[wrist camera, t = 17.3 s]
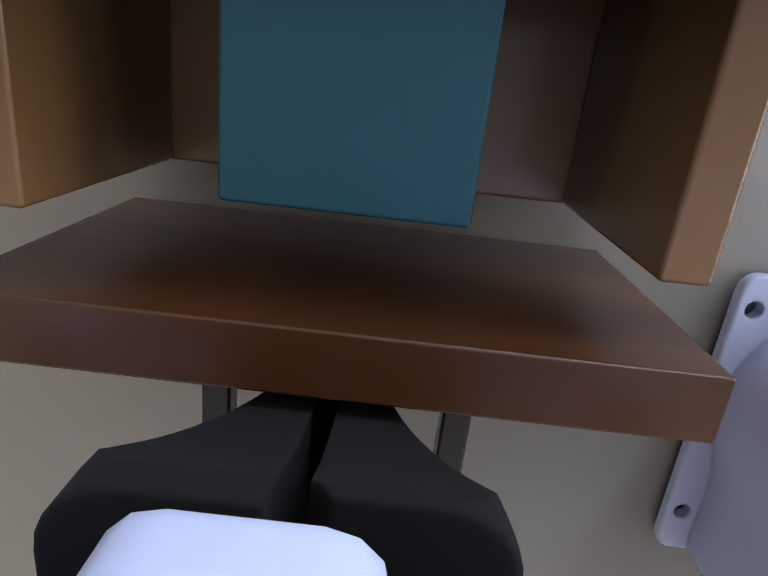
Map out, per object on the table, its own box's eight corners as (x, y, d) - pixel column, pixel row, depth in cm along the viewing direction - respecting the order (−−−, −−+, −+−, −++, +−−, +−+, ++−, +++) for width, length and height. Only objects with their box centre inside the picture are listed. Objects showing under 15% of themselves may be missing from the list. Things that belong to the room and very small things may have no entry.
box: (449, 178, 14) (470, 229, 9) (283, 158, 14) (216, 199, 9) (476, -9, 12) (517, -64, 8) (291, -30, 12) (218, -98, 8)
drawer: (549, 442, 17) (634, 663, 11) (143, 395, 17) (-20, 587, 11) (737, -328, 11) (1208, -910, 5) (108, -399, 11) (-320, -1078, 5)
